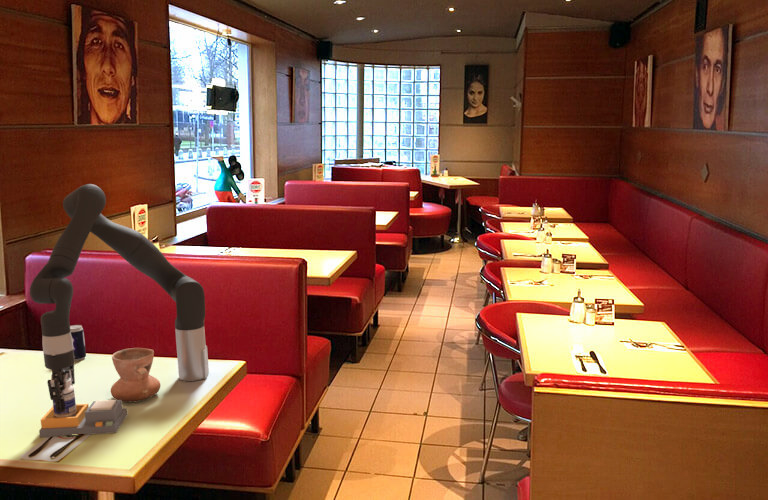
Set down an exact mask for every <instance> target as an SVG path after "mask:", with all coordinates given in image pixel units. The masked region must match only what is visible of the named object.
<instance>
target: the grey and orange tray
mask: <svg viewBox="0 0 768 500" xmlns="http://www.w3.org/2000/svg"><path fill="white" fill-rule="evenodd" d="M115 400H116V405H115V406H114V408H113V409H112V410H99V411H91V409H90V408H91V407H92V406H93V405H94V403H95V402H96V401H97V400H95V401H92V402H91V404H90V405H89V403H80V404H77V403H76V413H75V414H73V415H71V416H68V417H56V416H55V415H54V408H53V406H51V408H50V409H49V410H48V411H47V412H46V413H45V414H44V415H43V417H41V419H40V426H41V427H40V429H39V430H38V433H39V438H51V437H65V436H64V435H70V436H73V435H72V434H84V435H100V434H116V433H117V431H118V430H119V429H120V427H121V426H122V424H123V423H124V421H125V420H126V418H127V417H128V409H127V407H126V408H124V407H123V402H122V400H117V399H115Z"/></svg>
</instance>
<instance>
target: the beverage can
mask: <svg viewBox="0 0 768 500" xmlns="http://www.w3.org/2000/svg"><path fill="white" fill-rule="evenodd" d="M70 331H71V336H72V340H73V349H74V358H75V362H77V361H78V362H79V361H82V360H84V359H85V357H86V356H87V352H86V351H87V350H86V342H85V341H86V340H85V333H84V328H83V325H81V324H74V325H70Z"/></svg>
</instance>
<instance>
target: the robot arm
mask: <svg viewBox="0 0 768 500" xmlns="http://www.w3.org/2000/svg"><path fill="white" fill-rule="evenodd" d="M106 205H107V197H106V194H105V192H104V191H103V190H102V188H101V187H99V186H97V185H96V184H92V183H87V184H83V185H81V186H79V187H78V188H76V189H74V191H71V192H70V193H69V194H67V195H66V196H65V197H64V199H63V201H62V206H63V207H62V208H63V211H64V212H65V213H66V214H67V216H68V217H69V218H70V221H69V223H68V224H67V226H66V227H65V229H64V230H63V231H62V233H61V234H60V236H59V238H58V239H57V241H56V242H55V245H54V246H53V249H52V251H51V254H50V256H49V258H48V261H47V262H46V264H45V265H44V266H43V267H42V268H41V269H40V271H39V272H38V273H37V275H35V277H34V279H33V280H32V281H31V284H30V287H29V296H30V298H31V300H32V301H33V302H34V303H35V304H42V305H45V304H46V305H47V304H48V305H49V304H52V305H53V304H54V305H55V308H54V310H49V311H47V312H44V313H42V315H41V316H40V325H41V334H42V335H41V336H42V342H41V343H42V351H43V361H44V367H45V368H46V369H47V370H51V376H50V379H48V380H47V381H46V382H47V383H46V384H47V386H48V392H49V393H48V394H49V398H50V400H51V401H53V400H55V405H56V411H57V412H64V411H65V402H64V391H65V390H66V382H67V379H68V378H71V384H70V385H72V386H73V387H74V385H75V383H76V380H75V379H76V378H75V363H76V361H75V358H74V349H73V340H72V336H71V331H70V326H71V323H70V322H71V321H70V314H71V312H70V311H71V307H72V300H73V297H74V286H73V283H72V282H71V280H69V279H68V278H67V277H69V276H72V274H74V272H75V269H76V266H77V263H78V261H79V258H80V257H81V256H80V255H81V252H82V251H83V248H84V246H85V243H86V241H87V238H88V236H89V235H90V233H91V234H93V235H94V236H96V237H97V238H98V239H100V240H101V241H102V242H104V243H105V244H106V245H107V246H108V247H110V248H111V249H112V250H113V251H115V252H116V253H117V254H118V255H119V256H120V257H122V259H124V260H125V261H126V262H127V263H128V264H129V265H130V266H132V267H133V268H135V269H136V270H138V271H139V272H140V273H142V274H144V275H145V276H146V277H148V278H150V279H152V280H153V281H154V282H155V283H157V284H158V286H159V287H160V288H162V289H163V290H164V291H165V292H166V293H167V294H168V295H169V297H171V299H172V300H173V301H174V302H175V306H176V308H175V309H176V318H175V319H174V329H175V342H176V343H175V344H176V354H177V355H176V356H177V366H178V367H177V368H178V369H177V370H178V379H179V380H180V381H184V382H195V381H200V380H206V379H207V378H208V376H209V372H210V371H209V370H210V369H209V357H208V354H209V353H208V345H206V334H205V333H206V332H205V318H206V299H205V298H206V297H205V291H204V287H203V286H202V285H201V283H200V282H199V281H197V280H195V279H194V278H192V277H190V276H188V275H186V274H185V273H183V272H182V271H181V270H180V269H178V268H177V267H175V266H174V265H173V264H172V263H171V262H170V261H168V259H167V258H166V256H165V255H164V254H163V253H162V252H161V251H160V249H159V248H158V247H157V246H156V245H155V244H154V243H153V242H152V241H150V240H149V239H148V238H147V237H146V236H145V235H143V234H142V233H141V232H140V231H137V230H135V229H133V228H130V227H127V226H125V225H121V224H120V223H116V222H113V221H112V220H110V219H108V218H107V217H106V216H104V215H103V214H102V212H103V211H104V209H105V207H106ZM59 385H63V386H62V387H60V386H59ZM60 390H61V392H60Z"/></svg>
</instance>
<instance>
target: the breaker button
mask: <svg viewBox="0 0 768 500" xmlns="http://www.w3.org/2000/svg"><path fill="white" fill-rule="evenodd" d="M116 400H117V399H107V400H104V399H103V400H95V401H96V402H95V403H94V405H93V406H92V407H91V408H90V409H91V411H99V410H112V409H113V408H114V406H115V405H116Z"/></svg>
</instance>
